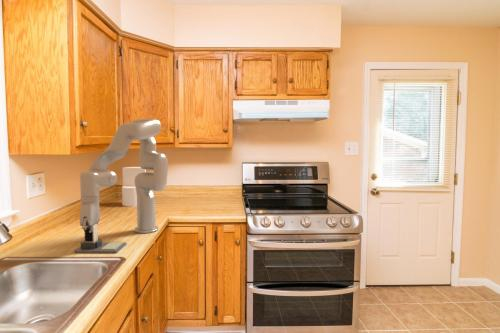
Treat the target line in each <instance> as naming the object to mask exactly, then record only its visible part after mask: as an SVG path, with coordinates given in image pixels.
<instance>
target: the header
mask: <svg viewBox="0 0 500 333" xmlns="http://www.w3.org/2000/svg"><path fill="white" fill-rule="evenodd" d="M102 240H103V239H102V238H98V240H97V241H96V242H94V243H85V239H84V240H83V241H80V247H78V248H76V249H75V250H74V254H117V253H119V252H120V251H121V250H122V249H123V248H124V247H126V246H127V242H126V241H125V242H121V241H120V242H118V241H117V242H113V241H112V242H111V241H110V242H103V241H102Z"/></svg>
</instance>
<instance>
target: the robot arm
mask: <svg viewBox="0 0 500 333" xmlns="http://www.w3.org/2000/svg"><path fill="white" fill-rule="evenodd" d="M161 131H162V124H161V121H160V120H158V119H156V118H137V119H134V120H132V121H131V122H125V123H121V124H120V125H119V126H118V127H117V129H116V132H115V134H114V135H113V137H112V139H111V141H110V143H109V145H108V147H107V148H106V149H105V150H104V151H102V152H101V153H100V154H99V155H98V156H97V157H96V158H94V160H93V162H92V163H91V165H90V167H89V169H88V170H87V171H83V172H81V173H80V175H79V178H80V180H79V182H80V184H79V185H80V209H79V210H80V211H79V225H80V226H81V229H82V230H83V231H84V240H85V241H93V232H92V225H94V224H96V223H97V224H98V225H99V222H100V220H101V210H100V201H101V200H100V199H101V198H100V187H107V188H108V187H112V186H114V185H116V183H117V182H118V176H117V173H116V172H114V171H113V170H110V169H109V170H108V169H107V168H108V166H109V165H110V164H112V163H114V162H116V161H119V160H121V159H123V158H124V157H126V155H127V153H128V150H129V148H130V147H131V144H132V143H133V141H139V155H138V156H139V158H138V165H139V166H138V167H140V168H142V169H145V170H146V171H147V172H142V173H139V174H138V175H137V176H136V177H135V181H134V182H135V188H136V193H137V206H136V226H137V227H134V232H135V233H140V234H149V233H155V232H157V231H159V226H157V225H156V195H155V193H154V191H155V192H162V191H163V190H164V189H165V188H166V186H167V183H168V182H167V180H168V169H169V160H168V158H167V156H166V155H165V154H164V153H163V152H157V141H156V138H155V136H158V135H159V134H160V133H161ZM148 171H153V172H148ZM87 224H89V225H87ZM87 227H90V228H87Z"/></svg>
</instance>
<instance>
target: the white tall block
mask: <svg viewBox="0 0 500 333" xmlns="http://www.w3.org/2000/svg"><path fill="white" fill-rule="evenodd" d="M146 171H147V170H145V169H142V168H140V166H128V167H127V166H125V167H122V186H121V196H122V197H121V201H122V203H121V205H122V206H124V207H137V193H136V188H135V182H134V181H135V177H136V176H137V175H138V174H139V173H142V172H146Z"/></svg>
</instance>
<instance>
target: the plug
mask: <svg viewBox="0 0 500 333" xmlns="http://www.w3.org/2000/svg"><path fill="white" fill-rule="evenodd" d="M87 225H89V224H87ZM98 225H99V223H98V224H97V223H96V224H94V225H92V232H93V241H85V243H94V242H96V241H97V240H98V239H99V229H98V228H99V227H98ZM87 228H90V227H87Z"/></svg>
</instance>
